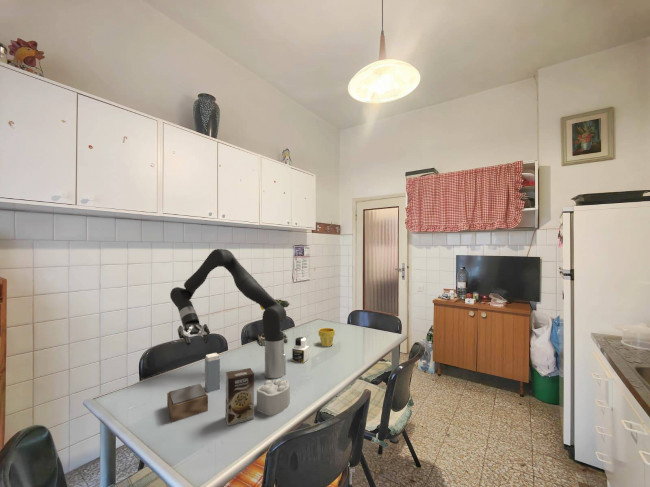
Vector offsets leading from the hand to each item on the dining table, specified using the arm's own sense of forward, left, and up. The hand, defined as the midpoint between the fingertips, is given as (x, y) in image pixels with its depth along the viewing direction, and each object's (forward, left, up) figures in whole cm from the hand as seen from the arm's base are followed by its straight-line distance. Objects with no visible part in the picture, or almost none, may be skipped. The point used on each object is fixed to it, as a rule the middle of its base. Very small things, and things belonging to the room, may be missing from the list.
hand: (198, 343), depth 133 cm
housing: (-3, +14, -17) cm, 22 cm away
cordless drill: (-54, -30, -17) cm, 64 cm away
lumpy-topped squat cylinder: (-19, +43, -17) cm, 50 cm away
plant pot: (-77, -1, -17) cm, 79 cm away
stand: (+9, +25, -17) cm, 32 cm away
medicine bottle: (-51, +10, -17) cm, 54 cm away
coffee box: (-5, +43, -17) cm, 47 cm away
